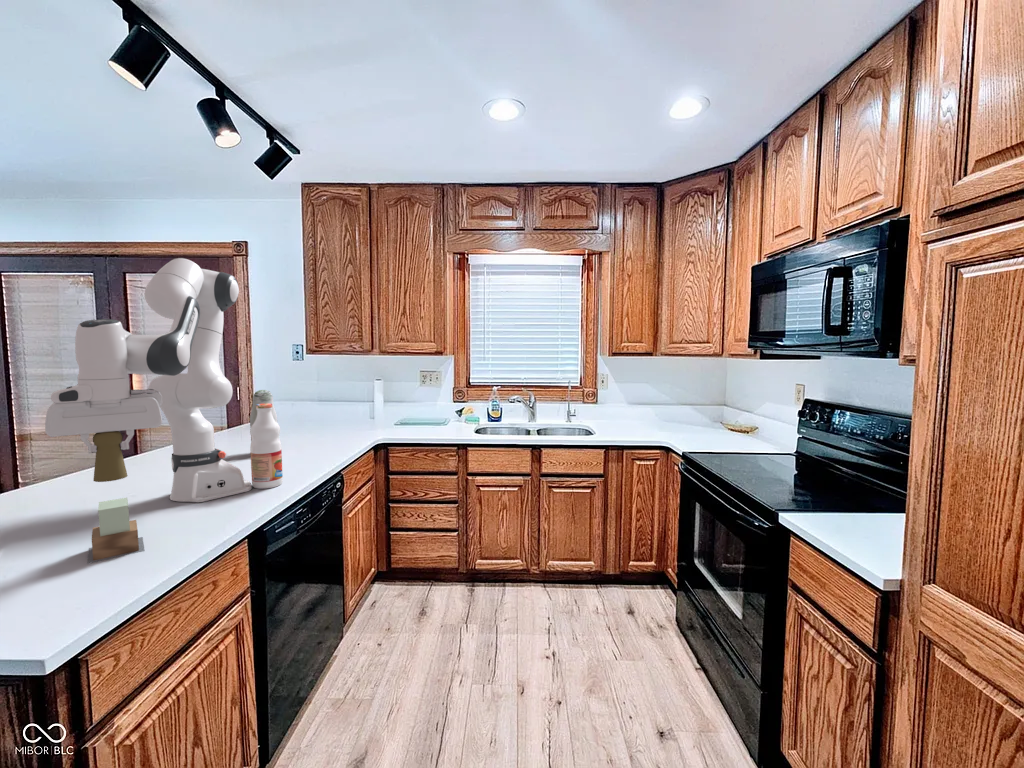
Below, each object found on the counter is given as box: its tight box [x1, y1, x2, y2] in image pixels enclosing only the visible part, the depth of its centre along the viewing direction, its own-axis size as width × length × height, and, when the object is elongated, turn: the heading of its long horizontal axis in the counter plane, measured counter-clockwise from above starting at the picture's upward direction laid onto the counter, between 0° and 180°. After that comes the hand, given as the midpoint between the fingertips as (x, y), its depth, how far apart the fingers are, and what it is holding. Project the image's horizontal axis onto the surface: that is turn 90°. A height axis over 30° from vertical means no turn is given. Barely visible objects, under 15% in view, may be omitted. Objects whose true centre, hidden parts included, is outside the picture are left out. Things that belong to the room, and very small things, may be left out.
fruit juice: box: [249, 403, 284, 490], centre depth 161 cm, size 9×9×28 cm
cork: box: [92, 431, 128, 483], centre depth 108 cm, size 6×6×11 cm
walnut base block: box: [91, 519, 139, 561], centre depth 110 cm, size 8×8×5 cm
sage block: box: [97, 497, 130, 536], centre depth 110 cm, size 5×7×6 cm
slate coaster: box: [86, 536, 145, 565], centre depth 111 cm, size 10×10×1 cm
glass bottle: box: [249, 389, 278, 443], centre depth 204 cm, size 10×10×28 cm
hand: (109, 450), depth 109 cm, fingers closed on cork, 4 cm apart
